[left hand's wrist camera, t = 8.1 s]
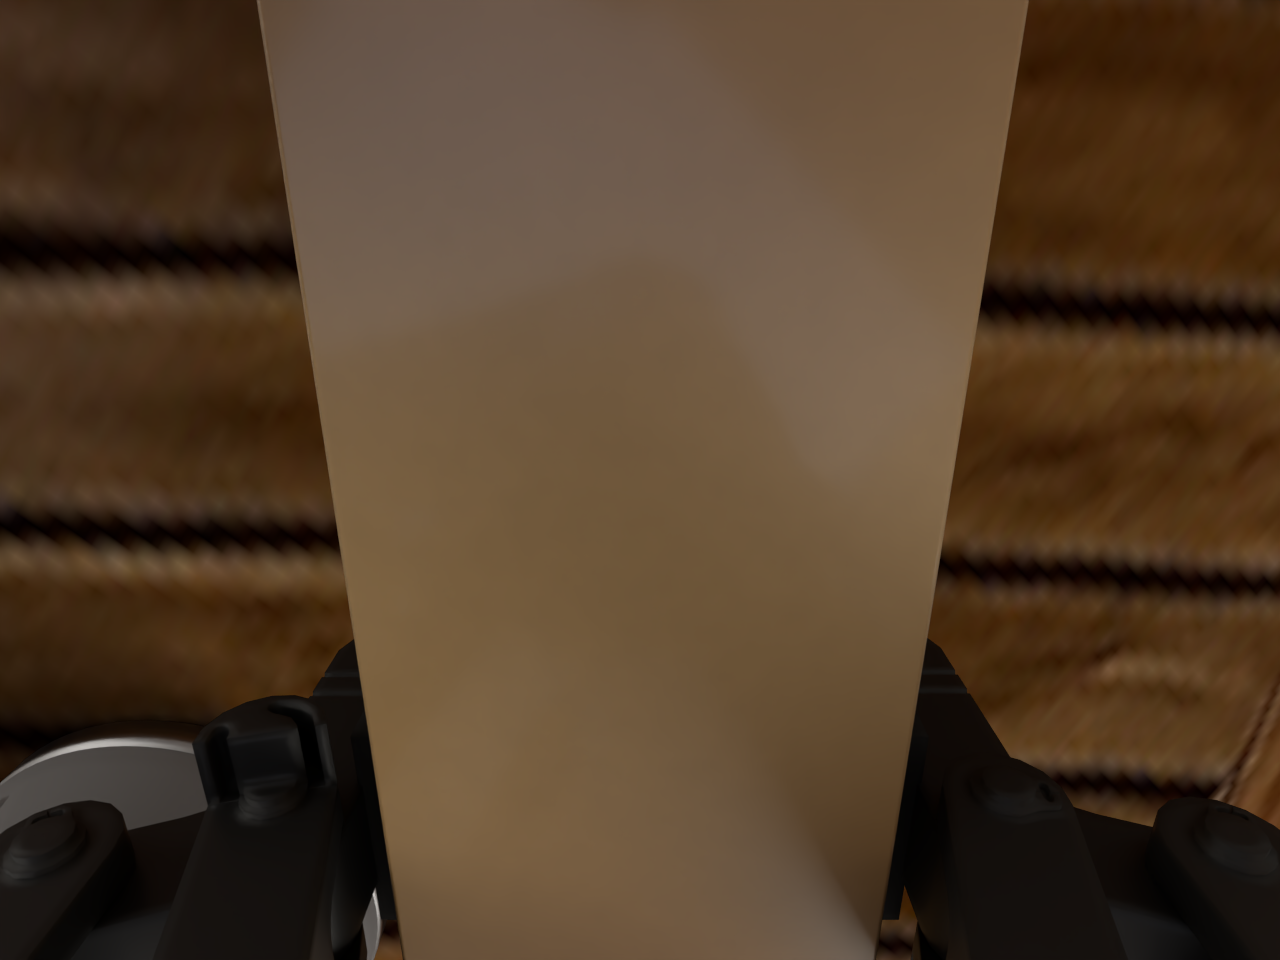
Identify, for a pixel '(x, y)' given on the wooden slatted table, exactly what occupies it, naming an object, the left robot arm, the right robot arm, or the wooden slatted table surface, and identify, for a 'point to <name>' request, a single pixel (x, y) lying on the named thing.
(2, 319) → the wooden slatted table surface
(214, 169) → the wooden slatted table surface
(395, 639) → the bar
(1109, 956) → the left robot arm
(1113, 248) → the wooden slatted table surface
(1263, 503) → the wooden slatted table surface
